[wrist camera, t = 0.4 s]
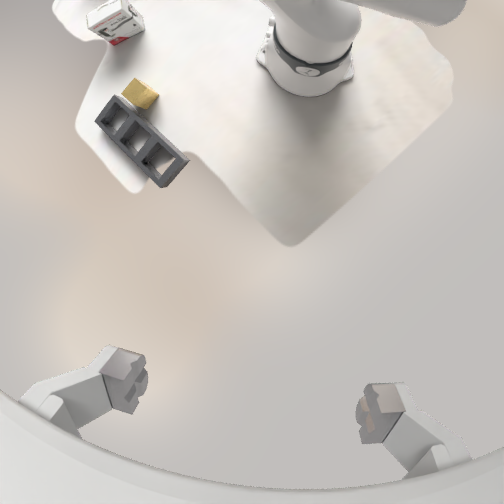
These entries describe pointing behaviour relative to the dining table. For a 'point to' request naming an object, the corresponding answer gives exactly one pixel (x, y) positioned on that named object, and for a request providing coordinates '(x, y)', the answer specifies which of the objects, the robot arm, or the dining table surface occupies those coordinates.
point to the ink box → (115, 21)
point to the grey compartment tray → (148, 148)
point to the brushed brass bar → (140, 94)
